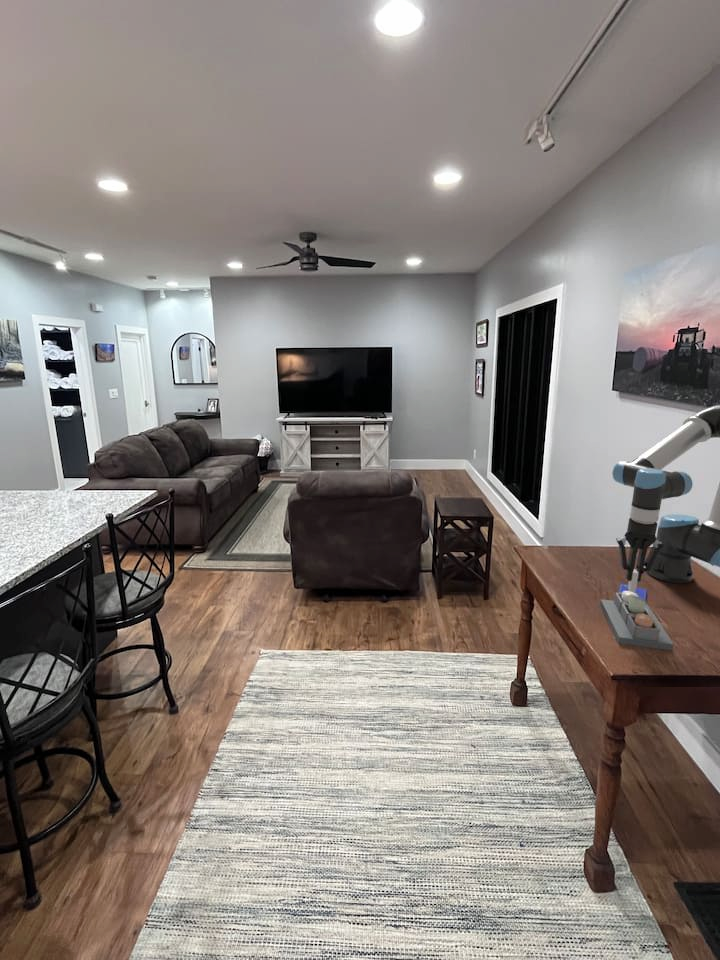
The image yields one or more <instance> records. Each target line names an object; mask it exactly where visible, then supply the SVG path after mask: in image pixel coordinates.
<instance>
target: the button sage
mask: <svg viewBox="0 0 720 960" xmlns="http://www.w3.org/2000/svg"><path fill="white" fill-rule="evenodd" d="M646 605H647V599H646V600H644V599H643V598H640V597H635V596H633V597H630V599H629V605H628V612H629V613H631V614H644V612H645V607H646Z"/></svg>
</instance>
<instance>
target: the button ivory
mask: <svg viewBox="0 0 720 960" xmlns="http://www.w3.org/2000/svg"><path fill="white" fill-rule="evenodd" d="M633 596H635V597H638V595H637V594H636V593H634V592H630V591H623V592H622V597H621V600H622V602H629V599H630V597H633Z"/></svg>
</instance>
